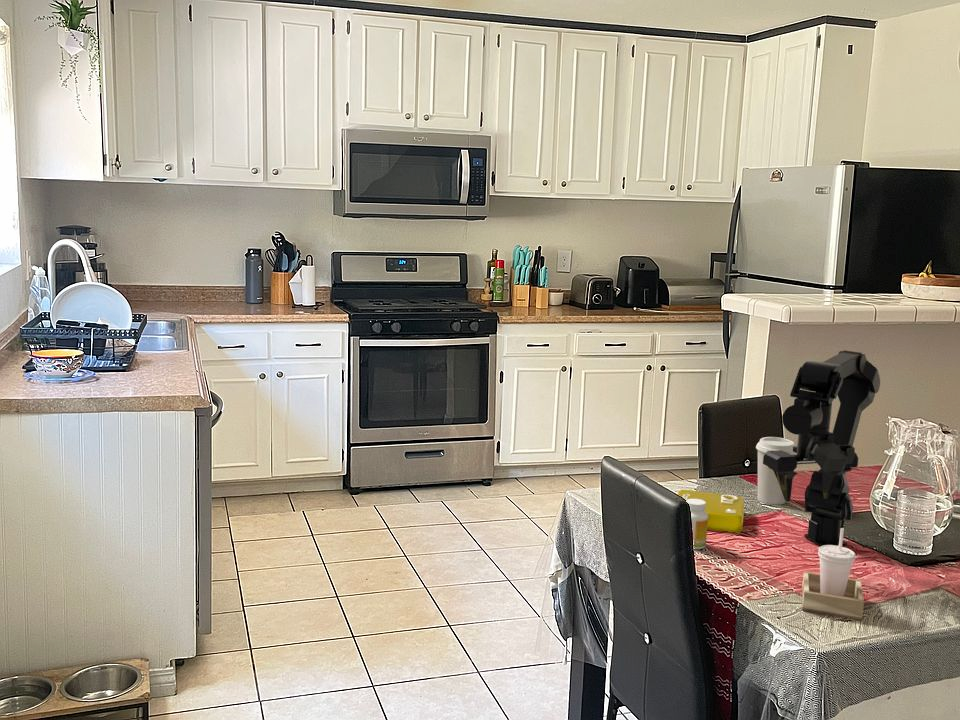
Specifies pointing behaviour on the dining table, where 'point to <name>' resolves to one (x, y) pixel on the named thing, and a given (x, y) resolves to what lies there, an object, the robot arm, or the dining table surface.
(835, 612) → the cup holder
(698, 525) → the supplement bottle
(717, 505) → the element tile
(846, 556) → the smoothie
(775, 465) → the robot arm
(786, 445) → the coffee cup
